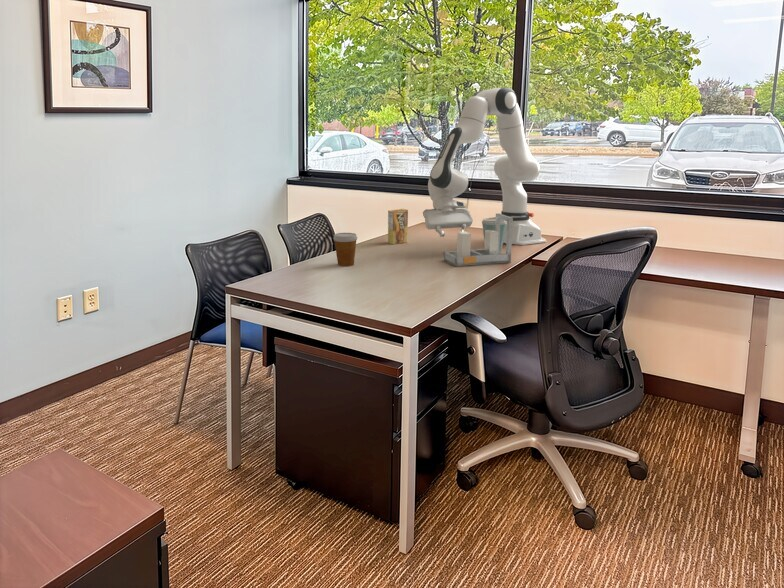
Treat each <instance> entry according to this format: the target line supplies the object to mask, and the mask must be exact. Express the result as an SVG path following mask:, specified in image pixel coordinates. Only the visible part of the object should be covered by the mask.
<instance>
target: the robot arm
mask: <svg viewBox="0 0 784 588" xmlns="http://www.w3.org/2000/svg"><path fill="white" fill-rule="evenodd" d="M462 108H463V109H462V110H461V114H460V117H459V120H458V122H457V125H456V126H455V127H454V128H452V129H451V130H450V131H449V134H448V135H447V137H446V140H445V141H444V144H443V146H442V149H441V150H440V153H439V155H438V158H437V160H436V162H435V163H434V165H433V166H432V169H431V171H430V174H429V179H428V183H427V187H428V188H427V190H428V194H429V197H430V200H431V201H432V207H433V208H429V209H427V208H426V209H424V210H423V211H422V215H423V216H422V217H423V218H424V221H425V222H424V224H425V227H426V229H428V230H435V231H436V232H437V233H438V234H439V237H443V238H444V237H445V235H446V234H445V231H444V230H442V229H456V228H457V229H458V228H461V230H460V232H465V231H466V228H470V227H471V226H472V225H473V223H474V219H473V217H472V214H471V212H470V210H469V209H468V208H466V207H467V204H466V203H465V202H464V201H459V200H455V199H454V198H456V197H458V196H460V195H462V194H463V193H465V192H466V191H467V189H468V187H469V177H468V175H467V174H465V173H464V172H462V171H460V170H459V169H456V168H454V167H453V166H452V162H453V160H454V158H455V155H456V153H457V152H458V151H457V150H458V149H459V147H460V146H461V145H462V144H473V143H476V142H477V141H479V140H480V139H481V137H482V136H483V134H484V130H485V126H486V123H487V118H488V116H490V117H491V116H495V117H496V122H497V131H498V138H499V144H500V148H501V149H503V150H504V152H505V154H506V156H502V157H499V158H498V159H496V160H495V162H494V165H493V166H494V167H493V171H494V174H495V175H496V176H497V178H498V180H499V184H500V187H501V191H502V192H501V193H502V209H501V212H500V214H502V215H506V216H509V217H512V218H513V226H512V245H518V246H527V245H532V244H533V245H534V244H541V243H547V239H546V238H544V237H542V231H541V228H540V227H539V226H538V225H537V224H536V223H534V221H533V220H531V218H533V217H534V215H535V214H534V212H528V211H527V209H528V208H527V207H528V194H527V192H526V190H525V189H524V187H523V184H522V183H528V182H533V181H535V180H536V179H537V178H538V177H539V176H540V175H539V174H540V171H541V168H540V163H539V162H538V161H537V160H536V159H535V158H534V156H533V154H532V153H531V150H530V149H529V146H528V143H527V141H526V136H525V131H524V130H525V129H524V124H523V123H524V122H523V117H522V111H521V109H520V106H519V103H518V97H517V95H516V93H515V91H514V90H513V89H512V88H509V87H494V88H490V89H485V90H479V91H476V92H475V93H474V94H473V95H472V96H470V97H469V98H468V99H467V100H466V102H465V104H464V107H462ZM507 222H508V221H507ZM506 243H507V224H506V229H505V234H504V240H503V244H506Z"/></svg>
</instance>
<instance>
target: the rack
mask: <svg viewBox="0 0 784 588" xmlns="http://www.w3.org/2000/svg"><path fill="white" fill-rule="evenodd" d="M495 217H496V219H495V231H494V230H485V242H483V243H484V246H483V247H484V248H483V249H482V248H480V249H470V256H465V257H457V250H453V251H443V261H444V260H445V262H446V263H448V264H450V265H451V264H452V265H451V266H453V265H454V266H453V267H455V266H456V267H466V266H467V267H468V266H469V265H470V266H481V265H482V266H483V265H494V264H506V263H511V261H512V246H513V244H512V226H513V218H512V217H509V216H506V215H502V214H501V213H495ZM500 219H502V220H506V221H508V222H507V243H505V244H506V245H505V246H506V248H505V249H506V250H505V253H499V242H500Z"/></svg>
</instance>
